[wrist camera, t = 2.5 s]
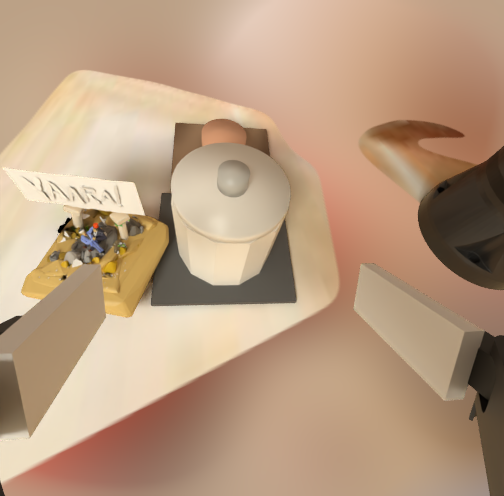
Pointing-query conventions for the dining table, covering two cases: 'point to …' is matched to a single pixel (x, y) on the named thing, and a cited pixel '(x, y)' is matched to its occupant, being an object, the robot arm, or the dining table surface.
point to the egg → (223, 132)
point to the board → (191, 139)
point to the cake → (96, 236)
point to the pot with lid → (227, 210)
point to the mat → (203, 293)
